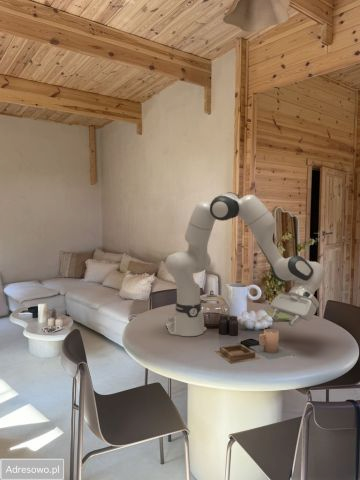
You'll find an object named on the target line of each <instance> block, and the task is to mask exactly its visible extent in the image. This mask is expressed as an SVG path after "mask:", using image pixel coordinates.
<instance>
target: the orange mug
mask: <svg viewBox="0 0 360 480" xmlns="http://www.w3.org/2000/svg"><path fill="white" fill-rule="evenodd" d="M279 335H280V332H279V330H278V329H274V328H270V329H265V330H264V331H263V333H261V334H260V333H259V337H258V340H259V341H258V342H259V343H258V345H264V349H263V350H264V351H265V352H267V353H277V352H278V346H279V338H280V337H279Z"/></svg>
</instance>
